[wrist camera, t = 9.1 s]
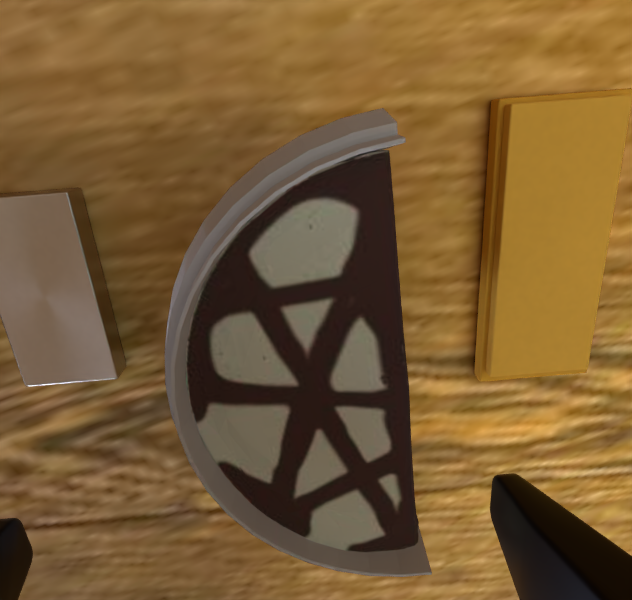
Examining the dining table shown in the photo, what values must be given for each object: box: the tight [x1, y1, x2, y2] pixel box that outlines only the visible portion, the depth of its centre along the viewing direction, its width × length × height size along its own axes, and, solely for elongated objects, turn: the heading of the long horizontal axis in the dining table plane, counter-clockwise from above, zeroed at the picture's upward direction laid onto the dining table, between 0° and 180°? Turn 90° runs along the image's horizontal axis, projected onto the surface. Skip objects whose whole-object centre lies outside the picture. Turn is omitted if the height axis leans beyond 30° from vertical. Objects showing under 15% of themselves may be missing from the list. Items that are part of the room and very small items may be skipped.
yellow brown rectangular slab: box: [474, 88, 632, 382], centre depth 19 cm, size 12×5×1 cm, turn 4°
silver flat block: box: [0, 188, 126, 387], centre depth 19 cm, size 8×4×1 cm, turn 4°
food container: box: [165, 108, 432, 577], centre depth 15 cm, size 12×6×10 cm, turn 8°
